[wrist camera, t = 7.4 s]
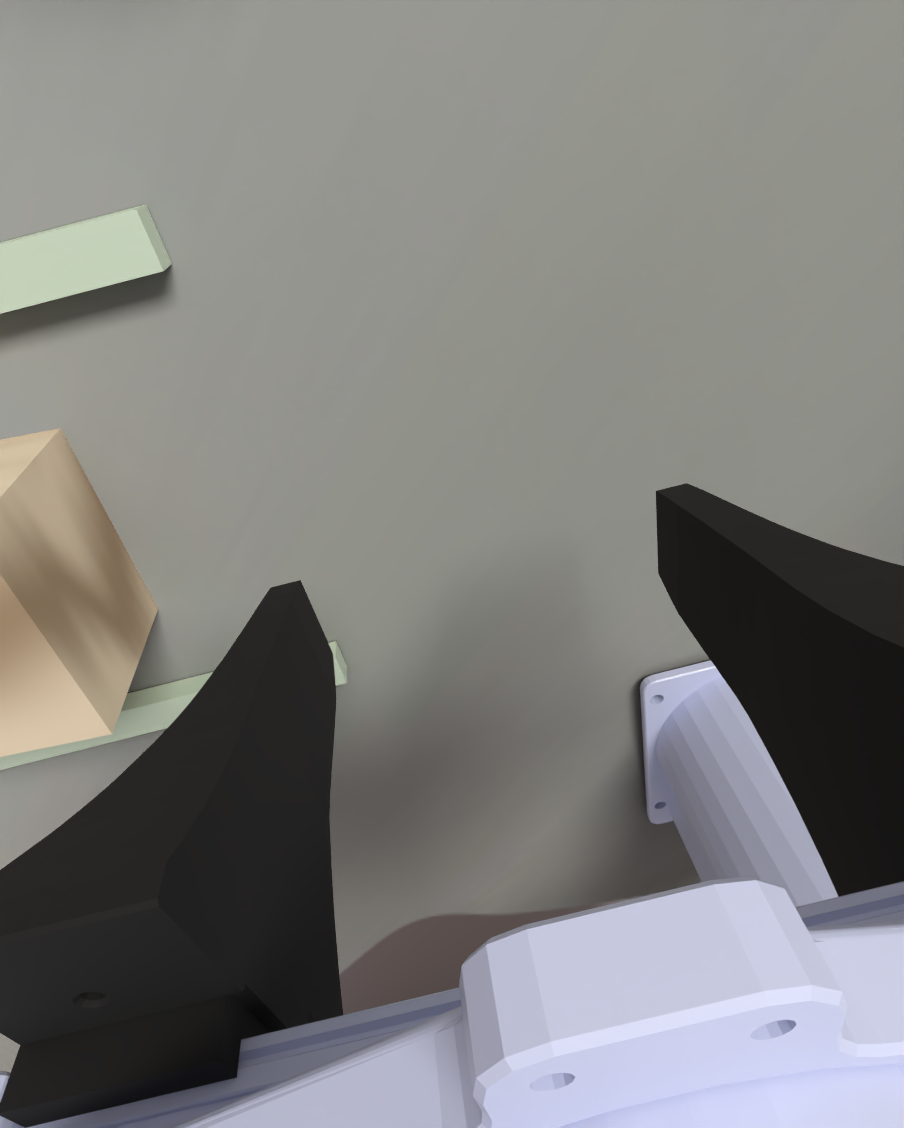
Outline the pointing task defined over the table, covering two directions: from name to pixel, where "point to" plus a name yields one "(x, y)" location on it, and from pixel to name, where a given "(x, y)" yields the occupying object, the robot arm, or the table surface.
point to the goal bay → (65, 269)
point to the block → (62, 601)
